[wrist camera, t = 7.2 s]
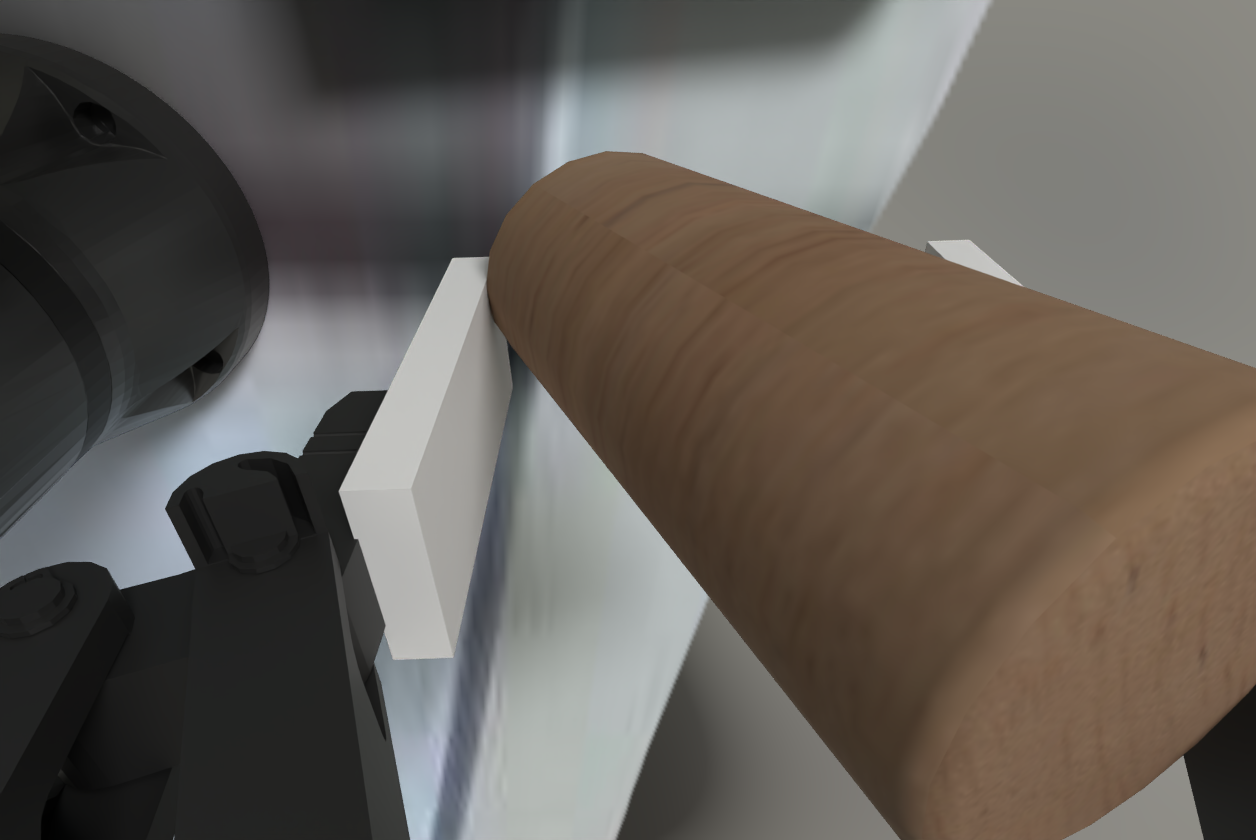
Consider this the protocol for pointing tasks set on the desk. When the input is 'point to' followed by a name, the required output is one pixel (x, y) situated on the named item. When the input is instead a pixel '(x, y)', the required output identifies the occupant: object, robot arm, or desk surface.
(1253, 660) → the wooden block set
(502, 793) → the desk surface
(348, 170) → the desk surface
